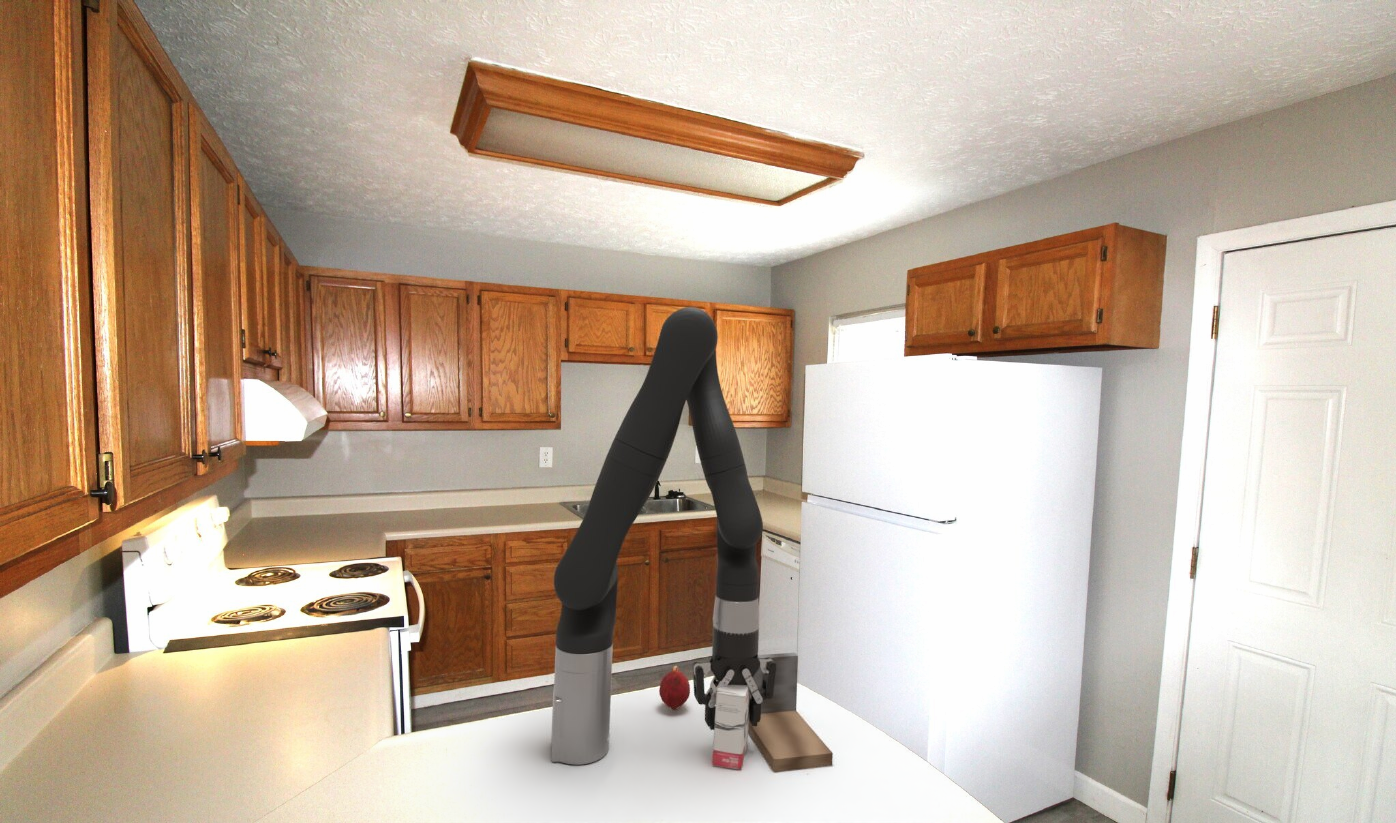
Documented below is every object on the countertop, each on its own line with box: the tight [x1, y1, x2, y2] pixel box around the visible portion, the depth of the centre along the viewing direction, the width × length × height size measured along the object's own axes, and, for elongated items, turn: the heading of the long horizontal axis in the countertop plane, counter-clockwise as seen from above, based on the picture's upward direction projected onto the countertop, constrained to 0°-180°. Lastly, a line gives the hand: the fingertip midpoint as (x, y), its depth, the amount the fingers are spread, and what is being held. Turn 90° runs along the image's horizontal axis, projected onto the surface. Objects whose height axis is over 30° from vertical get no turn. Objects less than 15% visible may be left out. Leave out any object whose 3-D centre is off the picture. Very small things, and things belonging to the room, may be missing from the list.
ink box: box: [711, 685, 750, 770], centre depth 100 cm, size 9×5×12 cm, turn 168°
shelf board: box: [748, 652, 834, 773], centre depth 104 cm, size 10×16×12 cm, turn 14°
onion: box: [658, 665, 691, 711], centre depth 115 cm, size 6×6×8 cm
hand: (732, 725), depth 100 cm, fingers closed on ink box, 6 cm apart
